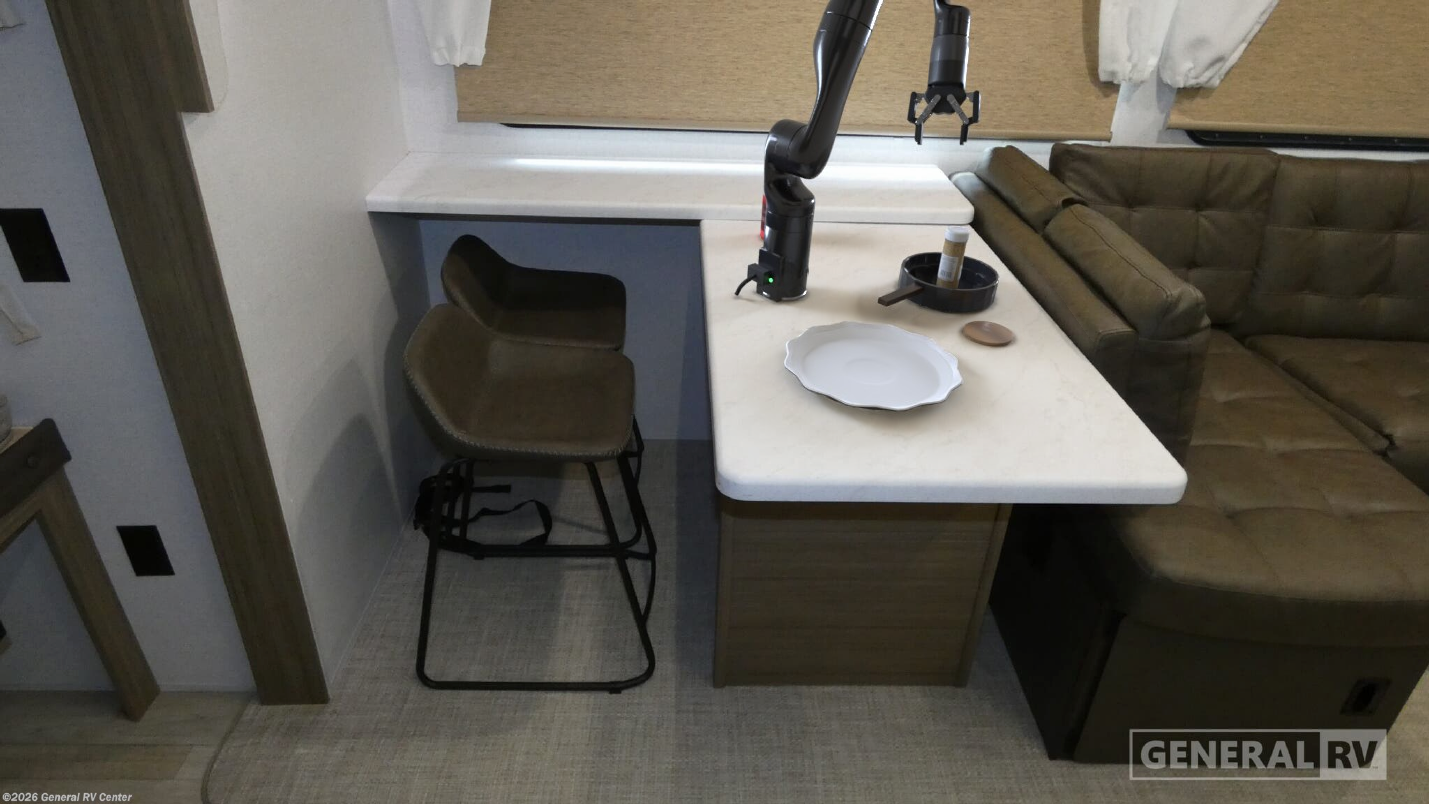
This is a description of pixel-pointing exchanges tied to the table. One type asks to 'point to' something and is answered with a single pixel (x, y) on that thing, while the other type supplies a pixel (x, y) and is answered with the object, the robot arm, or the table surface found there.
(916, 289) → the pan handle
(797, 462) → the table surface
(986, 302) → the pan
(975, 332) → the coaster
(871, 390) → the plate
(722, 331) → the table surface
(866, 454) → the table surface
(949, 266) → the sprinkles bottle
